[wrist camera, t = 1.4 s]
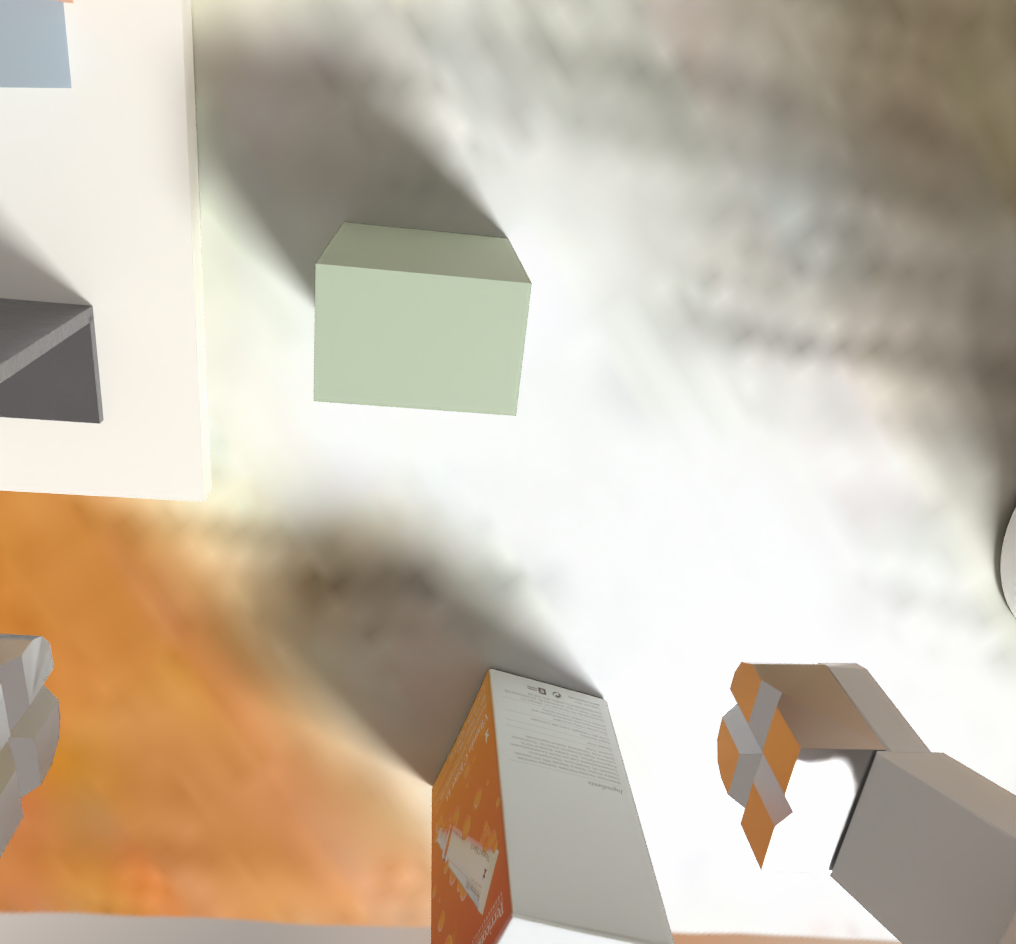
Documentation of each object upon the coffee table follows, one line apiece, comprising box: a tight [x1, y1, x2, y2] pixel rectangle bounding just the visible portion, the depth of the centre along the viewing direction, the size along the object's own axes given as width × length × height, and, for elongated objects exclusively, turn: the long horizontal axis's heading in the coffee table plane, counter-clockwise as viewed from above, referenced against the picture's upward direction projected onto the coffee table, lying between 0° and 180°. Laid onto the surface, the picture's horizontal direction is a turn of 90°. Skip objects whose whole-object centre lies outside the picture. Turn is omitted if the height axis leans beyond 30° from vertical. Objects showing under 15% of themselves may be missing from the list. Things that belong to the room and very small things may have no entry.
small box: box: [431, 669, 674, 944], centre depth 35 cm, size 8×6×13 cm
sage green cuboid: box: [314, 222, 532, 416], centre depth 28 cm, size 6×4×8 cm, turn 84°
